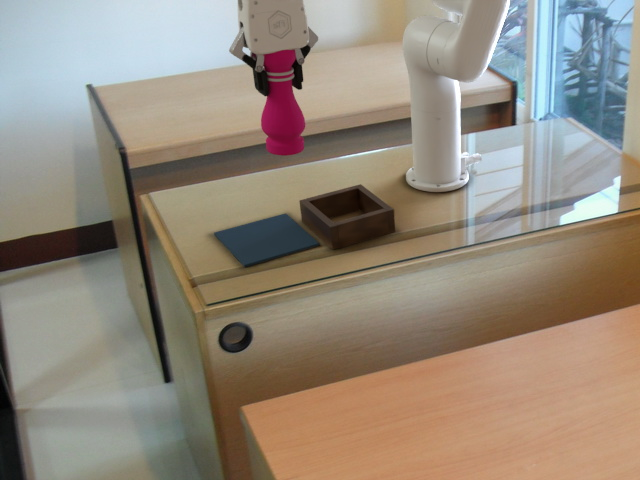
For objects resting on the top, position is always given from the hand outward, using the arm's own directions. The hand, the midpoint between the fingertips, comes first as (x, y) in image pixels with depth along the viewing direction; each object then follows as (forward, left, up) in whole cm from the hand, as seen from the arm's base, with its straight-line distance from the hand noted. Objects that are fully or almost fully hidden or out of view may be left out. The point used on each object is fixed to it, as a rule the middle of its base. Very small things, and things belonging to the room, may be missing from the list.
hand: (280, 89), depth 153 cm
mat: (+6, -1, -27) cm, 27 cm away
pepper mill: (0, 0, -10) cm, 10 cm away
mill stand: (-9, +2, -27) cm, 28 cm away
